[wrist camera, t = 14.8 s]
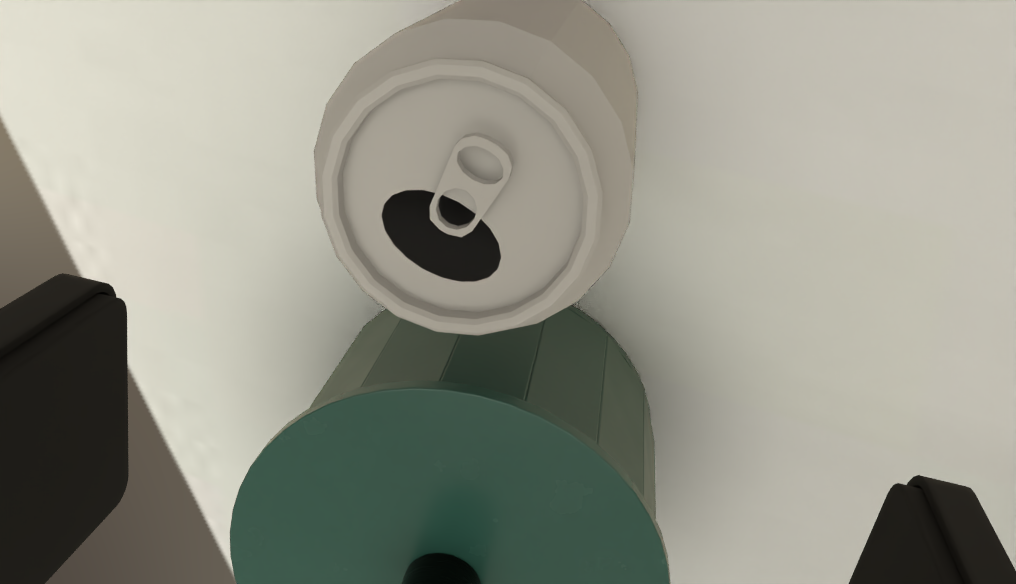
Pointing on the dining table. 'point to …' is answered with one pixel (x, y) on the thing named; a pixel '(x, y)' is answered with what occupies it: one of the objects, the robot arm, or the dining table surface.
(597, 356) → the pot
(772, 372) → the dining table surface
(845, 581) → the dining table surface
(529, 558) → the pot lid
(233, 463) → the dining table surface
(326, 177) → the can
